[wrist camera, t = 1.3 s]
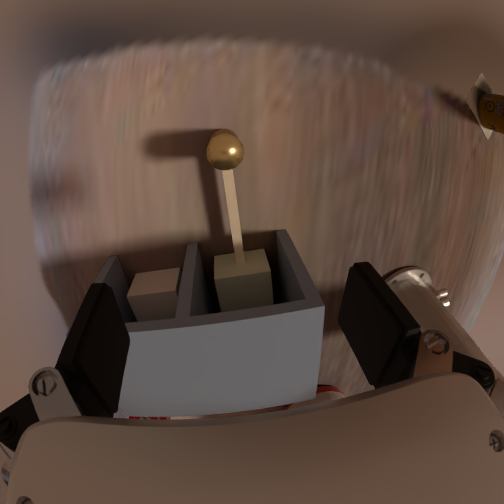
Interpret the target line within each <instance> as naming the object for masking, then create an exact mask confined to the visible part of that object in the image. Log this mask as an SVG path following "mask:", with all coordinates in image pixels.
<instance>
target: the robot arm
mask: <svg viewBox="0 0 504 504" xmlns="http://www.w3.org/2000/svg"><path fill="white" fill-rule="evenodd" d="M444 296H447V290H446V289H445V288H444V289H441V290H439V291H436V290H435V289H434V288H433V287H432V281H431V278H430V276H429V274H428V273H427V272H426V271H425V270H423V269H422V268H420V267H407V268H403V269H401V270H398V271H397V272H395V273H393V274H392V275H390V276H389V277H388V278H386V279H385V280H383V278H382V277H381V276H380V275H379V274H378V272H377V271H376V270H375V269H374V268H373V267H372V265H371V264H370V263H369V262H359V263H354V265H353V267H350V269H349V273H348V278H347V282H346V287H345V291H344V296H343V300H342V304H341V308H340V312H339V317H338V321H339V325H340V327H341V329H342V331H343V332H344V334H345V336H346V338H347V340H348V342H349V344H350V346H351V348H352V350H353V352H354V354H355V356H356V358H357V360H358V362H359V364H360V366H361V368H362V370H363V372H364V374H365V376H366V378H367V380H368V382H369V384H370V385H374V387H375V389H374V390H371V391H367V392H364V393H360V394H356V395H353V396H349V397H345V398H341V399H337V400H333V401H328V402H324V403H319V404H314V405H309V406H304V407H299V408H293V409H288V410H282V411H275V412H268V413H261V414H253V415H244V416H234V417H222V418H208V419H183V420H152V419H124V418H113V414H114V413H116V412H117V410H118V405H119V399H120V393H121V387H122V382H123V376H124V371H125V366H126V361H127V356H128V351H129V346H130V336H129V333H128V331H127V328H126V326H125V323H124V320H123V318H122V315H121V312H120V309H119V307H118V304H117V301H116V298H115V295H114V292H113V289H112V287H111V286H108V285H107V284H106V283H93V284H91V286H90V288H89V290H88V292H87V294H86V296H85V298H84V300H83V302H82V304H81V307H80V309H79V311H78V313H77V315H76V317H75V320H74V322H73V324H72V326H71V329H70V331H69V333H68V336H67V338H66V341H65V343H64V346H63V348H62V350H61V353H60V355H59V358H58V361H57V364H56V366H55V368H52V367H45V368H42V369H39V370H38V371H36V372H35V373H34V374H33V376H32V377H31V379H30V381H29V386H28V388H29V394H27V395H26V396H24V397H23V398H21V399H20V400H18V401H17V402H15V403H14V404H13V405H11V406H9V407H8V408H6V409H5V410H3V411H2V412H1V413H0V504H504V377H503V376H502V374H501V373H500V372H499V371H498V370H497V369H496V368H495V367H494V366H493V364H492V363H491V362H490V361H489V359H488V358H487V357H486V356H485V355H484V353H483V352H482V351H481V350H480V348H479V347H478V346H477V344H476V343H475V342H474V341H473V339H472V338H471V337H470V336H469V334H468V333H467V332H466V331H465V329H464V328H463V327H462V326H461V325H460V323H459V322H458V321H457V320H456V319H455V317H454V316H453V315H452V314H451V313H450V312H449V310H448V309H447V308H446V307H448V306H449V300H448V298H447V297H444ZM441 297H443V298H441Z"/></svg>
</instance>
